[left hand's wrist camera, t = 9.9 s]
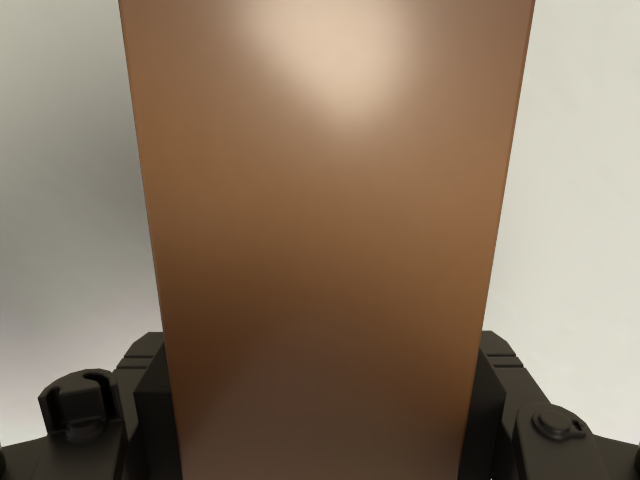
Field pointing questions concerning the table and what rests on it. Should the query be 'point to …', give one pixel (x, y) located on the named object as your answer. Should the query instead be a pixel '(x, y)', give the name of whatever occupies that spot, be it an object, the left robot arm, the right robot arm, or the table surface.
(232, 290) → the post
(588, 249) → the table surface
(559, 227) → the table surface
